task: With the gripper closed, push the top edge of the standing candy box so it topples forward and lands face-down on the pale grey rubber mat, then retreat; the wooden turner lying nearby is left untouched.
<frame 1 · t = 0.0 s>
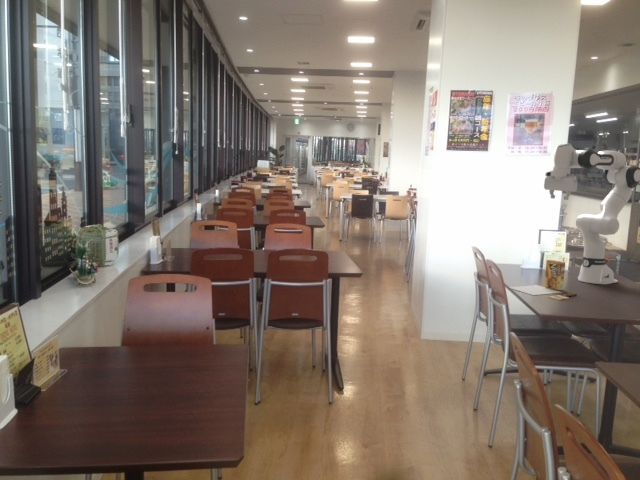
hand: (559, 199, 321), 48 cm above the table, fingers open, 8 cm apart
mat: (534, 290, 312), on the table
turner: (564, 297, 298), on the table
candy box: (553, 289, 318), on the table
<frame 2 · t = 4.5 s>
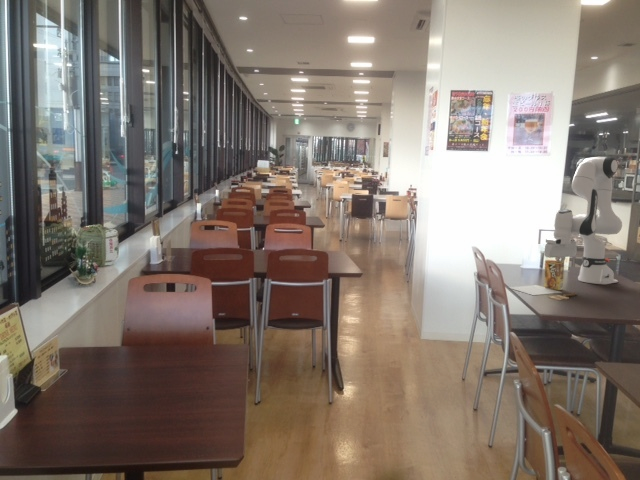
hand: (559, 265, 317), 13 cm above the table, fingers closed
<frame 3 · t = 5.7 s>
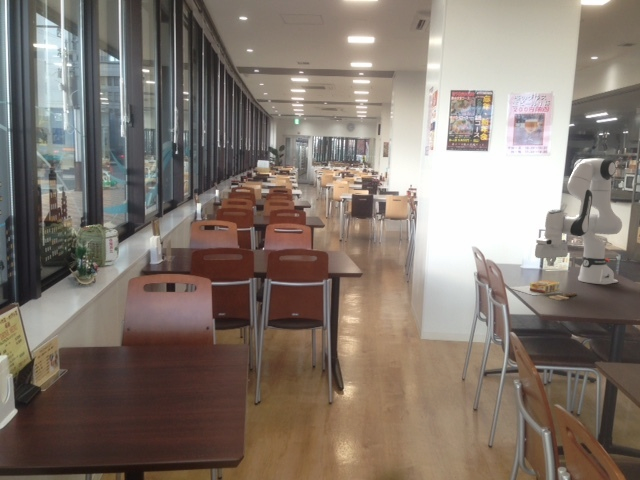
hand: (550, 265, 314), 13 cm above the table, fingers closed
candy box: (552, 284, 316), point 2 cm above the table, touching mat
everything else where it was.
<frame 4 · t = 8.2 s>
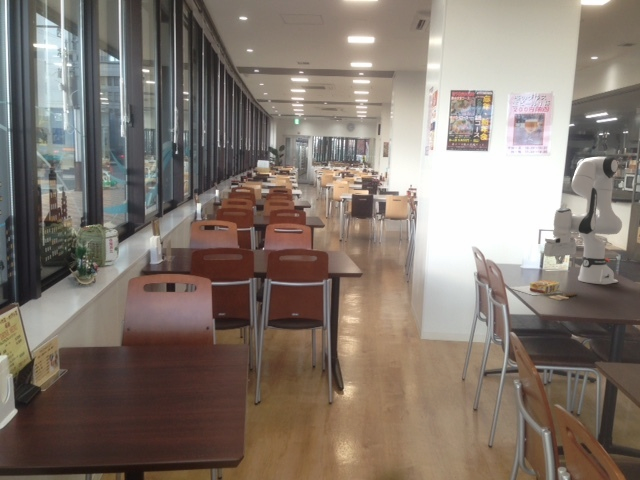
hand: (559, 263, 318), 14 cm above the table, fingers closed
nothing on the table moved.
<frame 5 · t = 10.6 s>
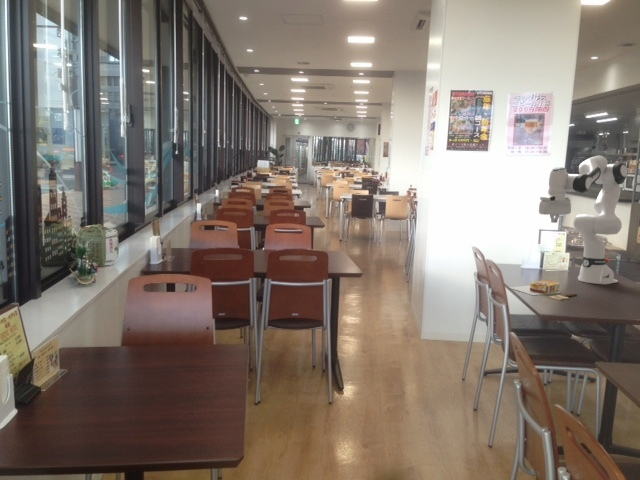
hand: (554, 222, 322), 35 cm above the table, fingers closed
nothing on the table moved.
at the end: candy box tilted 90°; candy box inside the target area (9.6 cm from its centre), point 2.4 cm above the table; candy box touching mat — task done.
